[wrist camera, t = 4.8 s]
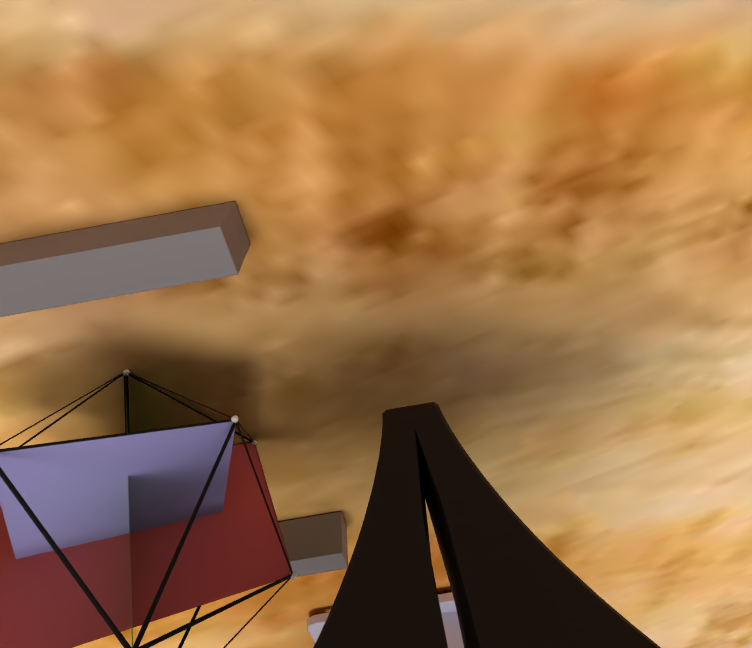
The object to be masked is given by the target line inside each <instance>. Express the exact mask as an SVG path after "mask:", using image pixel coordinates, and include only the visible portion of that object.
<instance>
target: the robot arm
mask: <svg viewBox="0 0 752 648" xmlns="http://www.w3.org/2000/svg"><path fill="white" fill-rule="evenodd" d="M382 415H383V427H382V439H381V447H380V454H379V459H378V464H377V469H376V474H375V479H374V484H373V488H372V492H371V496H370V499H369V503H368V507H367V510H366V514H365V518H364V521H363V525H362V528H361V531H360V534H359V537H358V540H357V543H356V546H355V549H354V552H353V555H352V558H351V560H350V563H349V566H348V569H347V571H346V574H345V576H344V579H343V581H342V584H341V586H340V589H339V591H338V594H337V596H336V599H335V601H334V604H333V606H332V608H331V611H330V612H329V613H323V614H317V615H313V616H311V617H310V618H309V619H308V624H307V629H308V631H309V633H310V635H311V637H312V638H313V640H314V642H315V646H314V648H661V647H659V646H658V645H657V644H656V643H654V642H653V641H652V640H651V639H649V638H648V637H647V636H646V635H645V634H643V633H642V632H641V631H640V630H638V629H637V628H636V627H635V626H633V625H632V624H631V623H630V622H629V621H627V620H626V619H625V618H624V617H623V616H622V615H620V614H619V613H618V612H617V611H616V610H615V609H613V608H612V607H611V606H610V605H609V604H608V603H606V602H605V601H604V600H603V599H602V598H601V597H599V596H598V595H597V594H596V593H595V592H594V591H593V590H592V589H591V588H590V587H589V586H587V585H586V584H585V583H584V582H583V581H582V580H581V579H580V578H579V577H578V576H577V575H576V574H574V573H573V572H572V571H571V570H570V569H569V568H568V567H567V566H566V565H565V564H564V563H563V562H561V561H560V560H559V559H558V558H557V557H556V556H555V555H554V554H553V553H552V552H551V551H550V550H549V549H548V548H547V547H546V546H545V545H544V544H543V543H542V542H541V541H540V540H539V539H538V538H537V537H536V536H535V535H534V534H533V532H532V531H531V530H530V529H529V528H528V527H527V526H526V525H525V524H524V523H523V522H522V521H521V520H520V519H519V517H518V516H517V515H516V514H515V513H514V512H513V511H512V510H511V508H510V507H509V506H508V505H507V504H506V503H505V502H504V500H503V499H502V498H501V497H500V496H499V494H498V493H497V492H496V491H495V489H494V488H493V487H492V486H491V485H490V483H489V482H488V481H487V480H486V478H485V477H484V476H483V474H482V473H481V472H480V470H479V469H478V468H477V466H476V465H475V464H474V462H473V461H472V460H471V458H470V457H469V456H468V454H467V453H466V451H465V450H464V448H463V447H462V446H461V444H460V443H459V441H458V439H457V438H456V436H455V435H454V433H453V432H452V430H451V428H450V427H449V425H448V423H447V422H446V420H445V418H444V416H443V414H442V412H441V410H440V408H439V406H438V404H436V403H434V402H431V403H425V404H419V405H413V406H407V407H401V408H395V409H389V410H386V411H385V412H384V413H383V414H382ZM425 499H426V503H427V506H428V510H429V513H430V517H431V520H432V524H433V527H434V530H435V534H436V537H437V541H438V544H439V548H440V551H441V555H442V558H443V561H444V565H445V568H446V572H447V575H448V579H449V582H450V586H451V590H452V592H450V593H444V594H438V593H437V588H436V583H435V578H434V573H433V568H432V562H431V552H430V543H429V533H428V523H427V513H426V504H425Z"/></svg>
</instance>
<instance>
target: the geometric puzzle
mask: <svg viewBox="0 0 752 648" xmlns="http://www.w3.org/2000/svg"><path fill="white" fill-rule="evenodd" d="M122 375H124V403H125V433H121V434H114V435H106V436H98V437H91V438H83V439H75V440H67V441H60V442H52V443H44V444H37V445H29V446H23V445H25V444H26V443H27V442H29V441H30V440H32V439H33V438H35V437H36V436H37V435H39V434H40V433H42V432H43V431H44V430H46V429H47V428H49V427H50V426H51V425H53V424H54V423H56V422H57V421H59V420H60V419H61V418H63V417H64V416H66V415H67V414H68V413H70V412H71V411H73V410H74V409H76V408H77V407H78V406H80V405H81V404H83V403H84V402H85V401H87V400H88V399H90V398H91V397H93V396H94V395H95V394H97V393H98V392H100V391H101V390H102V389H104V388H105V387H107V386H108V385H110V384H111V383H112V382H114V381H115V380H117V379H118V378H119V377H121V376H122ZM128 375H129V376H131V377H133V378H135V379H136V380H138V381H140V382H142V383H144V384H146V385H147V386H149V387H151V388H153V389H155V390H157V391H158V392H160V393H162V394H164V395H166V396H168V397H170V398H171V399H173V400H175V401H177V402H179V403H181V404H182V405H184V406H186V407H188V408H190V409H192V410H193V411H195V412H197V413H199V414H201V415H203V416H205V417H206V418H208V419H210V420H212V421H214V422H206V423H198V424H191V425H183V426H175V427H167V428H160V429H152V430H144V431H137V432H130V426H129V389H128ZM113 379H114V380H113ZM113 379H112V380H113V381H112V380H110V381H111V382H110V381H108V382H110V383H108V382H106V383H105V384H107V383H108V384H107V385H105V384H103V385H105V386H104V387H103V388H101V389H100V390H98V391H97V392H96V393H94V394H93V395H91V396H90V397H88V398H87V399H86V400H84V401H83V402H81V403H80V404H78V405H77V406H76V407H74V408H73V409H71V410H70V411H69V412H67V413H66V414H64V415H63V416H61V417H60V418H59V419H57V420H56V421H54V422H53V423H52V424H50V425H49V426H47V427H46V428H44V429H43V430H42V431H40V432H39V433H37V434H36V435H34V436H33V437H32V438H30V439H29V440H27V441H26V442H25V443H23V444H22V445H20V446H19V447H14V448H6V449H0V648H72V647H75V646H78V645H81V644H84V643H88V642H91V641H94V640H97V639H100V638H103V637H106V636H109V635H112V634H115V636H116V637H117V638H118V640H119V641H120V643H121V644H122V645H123V647H124V648H149V647H151V646H153V645H155V644H157V643H159V642H161V641H163V640H165V639H167V638H169V637H171V636H173V635H175V634H177V633H179V632H181V631H183V630H186V629H187V630H186V632H185V634H184V636H183V638H182V640H181V643H180V645H179V647H178V648H182V646H183V644H184V641H185V639H186V637H187V635H188V633H189V631H190V629H191V627H192V626H194V625H196V624H198V623H200V622H202V621H204V620H206V619H208V618H210V617H212V616H214V615H216V614H218V613H220V612H222V611H224V610H226V609H228V608H230V607H232V606H234V605H236V604H238V603H240V602H242V601H244V600H246V599H248V598H250V597H252V596H254V595H257V594H259V593H261V592H263V591H265V590H267V589H269V588H271V587H273V586H275V585H277V584H279V583H281V582H283V581H285V580H287V579H288V580H287V581H286V582H285V583H284V584H283V585H282V586H281V587H280V588H279V589H278V590H277V592H278V591H279V590H280V589H281V588H282V587H283V586H284V585H285V584H286V583H287V582H288V581H289V580H290V579H295V578H296V577H297V574H296V572H293V571H292V567H291V564H290V561H289V557H288V554H287V550H286V547H285V544H284V540H283V537H282V533H281V530H280V527H279V523H278V520H277V516H276V513H275V510H274V506H273V503H272V499H271V496H270V493H269V489H268V486H267V482H266V479H265V476H264V472H263V469H262V465H261V462H260V459H259V455H258V452H257V448H256V444H257V441H256V440H253V439H252V438H251V437H250V436H249V434H248V433H247V432H246V431H245V429H244V428H243V427H242V426H241V424H240V423H239V422H238V420H239V418H238V416H236V415H234V416H232V417H230V416H228V415H225V414H223V413H221V412H218V411H216V410H214V409H211V408H209V407H207V406H204V405H202V404H200V403H197V402H195V401H193V400H190V399H188V398H186V397H184V396H181V395H179V394H177V393H174V392H172V391H170V390H167V389H165V388H163V387H160V386H158V385H156V384H153V383H151V382H149V381H146V380H144V379H142V378H139V377H137V376H135V375H132V374H130V371H129V370H128V369H125V370H124V371H123V373H122V374H120V375H119V376H117V377H115V378H113ZM140 379H142V380H144V381H146V382H149V383H151V384H153V385H156V386H158V387H160V388H163V389H165V390H167V391H170V392H172V393H174V394H176V395H179V396H181V397H183V398H186V399H188V400H190V401H193V402H195V403H197V404H200V405H202V406H204V407H207V408H209V409H211V410H214V411H216V412H218V413H220V414H223V415H225V416H227V417H230V418H231V419H229V420H221V421H216V420H214V419H212V418H210V417H208V416H206V415H205V414H203V413H201V412H199V411H197V410H195V409H194V408H192V407H190V406H188V405H186V404H184V403H183V402H181V401H179V400H177V399H175V398H173V397H172V396H170V395H168V394H166V393H164V392H162V391H161V390H159V389H157V388H155V387H153V386H151V385H150V384H148V383H146V382H144V381H142V380H140ZM103 385H101V386H103ZM101 386H100V387H101ZM100 387H98V388H100ZM98 388H96V389H98ZM96 389H94V390H96ZM94 390H93V391H94ZM93 391H91V392H93ZM91 392H89V393H91ZM89 393H87V394H86V395H88V394H89ZM86 395H84V396H86ZM84 396H82V397H84ZM82 397H80V398H79V399H81V398H82ZM79 399H77V400H79ZM77 400H75V401H74V402H76V401H77ZM74 402H72V403H74ZM72 403H70V404H72ZM70 404H68V405H67V406H69V405H70ZM67 406H65V407H67ZM65 407H63V408H65ZM63 408H61V409H60V410H62V409H63ZM60 410H58V411H60ZM58 411H56V412H54V413H53V414H55V413H57V412H58ZM53 414H51V415H53ZM51 415H49V416H48V417H50V416H51ZM48 417H46V418H48ZM46 418H44V419H42V420H41V421H43V420H45V419H46ZM41 421H39V422H41ZM39 422H37V423H35V424H34V425H36V424H38V423H39ZM34 425H32V426H34ZM236 425H237V428H238V430H239V433H240V434H239V433H238V432H236V431H235V426H236ZM239 425H240V426H241V427H242V428H243V430H244V431H245V432H246V433H247V435H248V436H249V437H250V438H251V439H252V440H250V439H249V438H247V437H245V436H243V435H242V432H241V430H240V427H239ZM32 426H30V427H28V428H27V429H29V428H31V427H32ZM27 429H25V430H23V431H22V432H24V431H26V430H27ZM22 432H20V433H22ZM20 433H18V434H16V435H15V436H17V435H19V434H20ZM234 433H236V434H238V435H239V436H241V439H242V441H243V443H242V444H238V445H233V439H234ZM15 436H13V437H11V438H9V439H8V440H10V439H12V438H14V437H15ZM244 438H245V439H247V440H249V441H250V442H246V443H245V440H244ZM8 440H6V441H4V442H2V443H1V444H3V443H5V442H7V441H8ZM1 444H0V445H1ZM274 581H275V582H274ZM271 582H273V583H271ZM268 583H271V584H269V585H267V586H265V587H263V588H261V589H258V590H256V591H254V592H252V593H250V594H248V595H246V596H244V597H242V598H240V599H238V600H236V601H233V602H231V603H229V604H227V605H225V606H223V607H221V608H219V609H217V610H215V611H213V612H211V613H209V614H206V615H204V616H202V617H200V618H198V619H196V620H195V618H196V616H197V614H198V612H199V609H200V607H201V605H204V604H207V603H210V602H213V601H216V600H219V599H222V598H225V597H228V596H231V595H234V594H237V593H241V592H244V591H247V590H250V589H253V588H256V587H259V586H262V585H265V584H268ZM277 592H276V593H277ZM276 593H275V594H276ZM275 594H274V595H275ZM274 595H273V596H272V597H271V598H270V599H269V600H268V601H267V602H266V603H265V604H264V605H263V606H262V607H261V608H260V609H259V611H260V610H261V609H262V608H263V607H264V606H265V605H266V604H267V603H268V602H269V601H270V600H271V599H272V598H273V597H274ZM195 607H197V609H196V611H195V613H194V615H193V617H192V619H191V622H190V623H188V624H186V625H184V626H181V627H179V628H177V629H175V630H173V631H171V632H169V633H167V634H165V635H163V636H161V637H159V638H157V639H154V640H152V641H150V642H148V643H146V644H144V645H142V646H140V647H139V644H140V642H141V640H142V638H143V635H144V633H145V631H146V629H147V626H148V624H149V622H152V621H155V620H158V619H161V618H164V617H167V616H170V615H173V614H176V613H179V612H182V611H185V610H189V609H192V608H195ZM259 611H258V612H259ZM258 612H257V613H258ZM257 613H256V614H255V615H254V616H253V617H252V618H251V619H250V620H249V621H248V622H247V623H246V624H245V625H244V626H243V627H242V629H243V628H244V627H245V626H246V625H247V624H248V623H249V622H250V621H251V620H252V619H253V618H254V617H255V616H256V615H257ZM140 625H142V627H141V630H140V632H139V634H138V636H137V639H136V641H135V643H134V645H133V627H136V626H140ZM130 628H132V647H131V646H130V645H129V643H128V642H127V641H126V639H125V638H124V636H123V635H122V634H121V631H124V630H127V629H130ZM242 629H241V630H242ZM241 630H240V631H241ZM240 631H239V632H240ZM239 632H238V633H237V634H236V635H235V636H234V637H233V638H232V639H231V640H230V641H229V642H228V643H227V644H226V645H225V646H224V648H225V647H226V646H227V645H228V644H229V643H230V642H231V641H232V640H233V639H234V638H235V637H236V636H237V635H238V634H239Z"/></svg>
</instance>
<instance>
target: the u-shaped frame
mask: <svg viewBox="0 0 752 648" xmlns="http://www.w3.org/2000/svg"><path fill="white" fill-rule="evenodd" d="M249 246H250V243H249V240H248V237H247V234H246V231H245V228H244V225H243V222H242V219H241V216H240V213H239V211H238V208H237V205H236V202H235V201H233V202H228V203H222V204H217V205H211V206H206V207H200V208H195V209H189V210H184V211H178V212H173V213H167V214H162V215H156V216H151V217H145V218H140V219H134V220H129V221H123V222H118V223H112V224H107V225H101V226H96V227H90V228H85V229H80V230H74V231H69V232H63V233H58V234H52V235H47V236H41V237H36V238H30V239H25V240H19V241H14V242H8V243H3V244H0V317H3V316H9V315H15V314H20V313H26V312H31V311H37V310H43V309H48V308H54V307H59V306H65V305H70V304H76V303H82V302H87V301H93V300H98V299H104V298H110V297H115V296H121V295H126V294H132V293H137V292H143V291H149V290H154V289H160V288H165V287H171V286H177V285H182V284H188V283H193V282H199V281H204V280H210V279H216V278H221V277H227V276H232V275H238V273H239V270H240V268H241V266H242V263H243V261H244V258H245V256H246V253H247V251H248V248H249ZM278 523H279V527H280V530H281V533H282V537H283V540H284V544H285V547H286V550H287V554H288V557H289V561H290V564H291V567H292V571H293V572H296V574H297V577H298V576H304V575H310V574H316V573H322V572H328V571H334V570H340V569H346V568H348V555H347V526H346V524H345V521H344V518H343V515H342V512H335V513H330V514H324V515H318V516H312V517H306V518H300V519H294V520H288V521H282V522H278Z"/></svg>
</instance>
